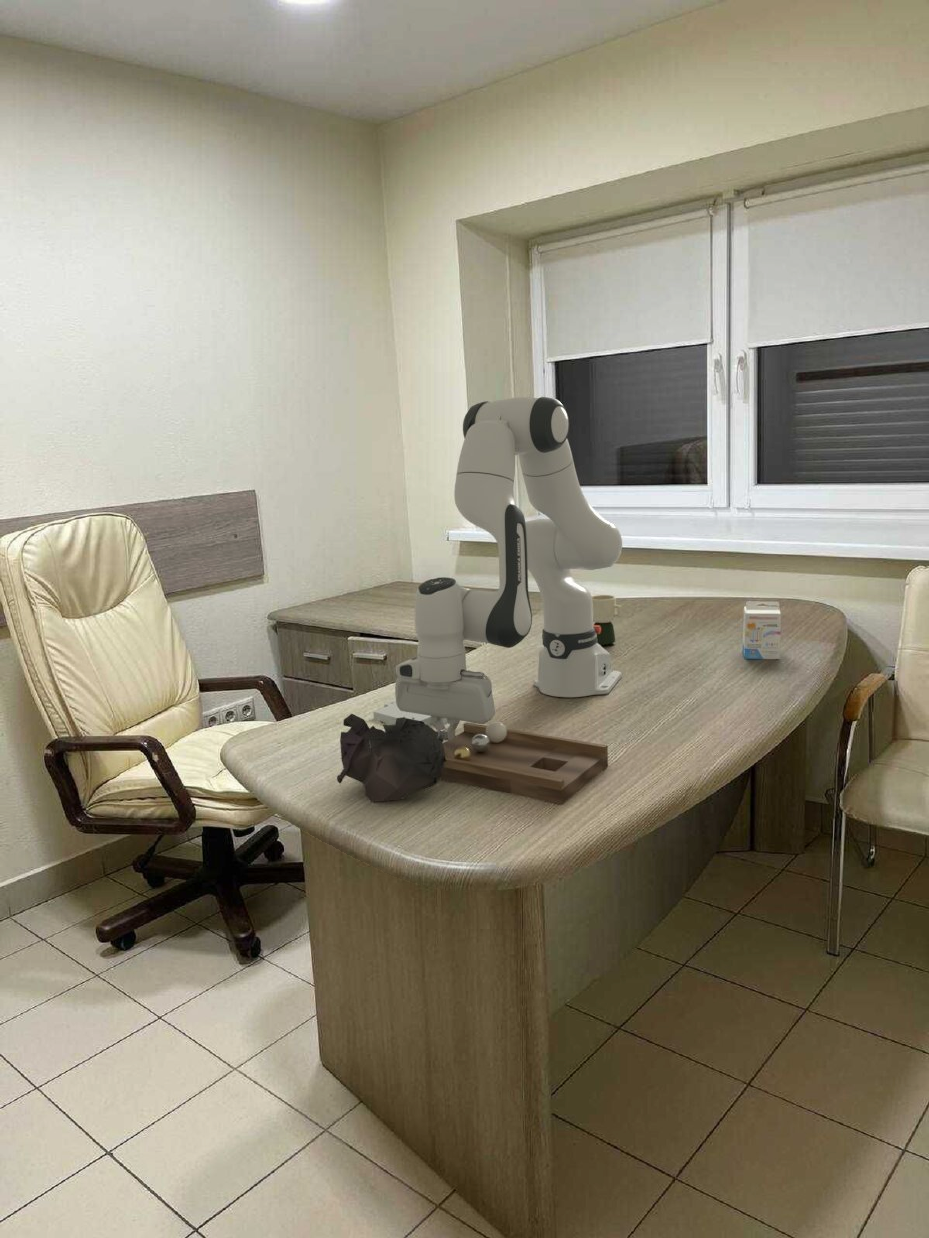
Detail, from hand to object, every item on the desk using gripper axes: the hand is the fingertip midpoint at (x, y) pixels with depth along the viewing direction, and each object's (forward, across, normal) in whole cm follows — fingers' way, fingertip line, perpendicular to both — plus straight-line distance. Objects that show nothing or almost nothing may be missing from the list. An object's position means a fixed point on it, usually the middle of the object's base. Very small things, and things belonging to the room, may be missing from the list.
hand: (446, 738), depth 170 cm
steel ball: (0, -8, 0) cm, 8 cm away
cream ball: (-1, -8, -6) cm, 9 cm away
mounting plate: (+4, +20, -18) cm, 28 cm away
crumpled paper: (+4, -2, +18) cm, 19 cm away
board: (+4, -14, 0) cm, 14 cm away
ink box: (+4, -32, -92) cm, 98 cm away
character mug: (+4, +8, -88) cm, 89 cm away
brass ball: (0, -8, +6) cm, 10 cm away
